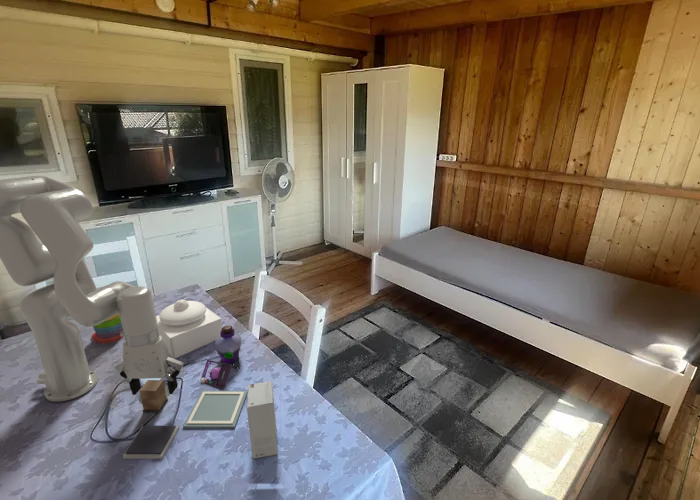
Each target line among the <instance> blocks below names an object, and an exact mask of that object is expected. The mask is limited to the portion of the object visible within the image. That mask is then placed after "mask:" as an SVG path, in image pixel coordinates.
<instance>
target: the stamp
mask: <svg viewBox="0 0 700 500" xmlns="http://www.w3.org/2000/svg"><path fill="white" fill-rule="evenodd" d="M139 394H140V400H141V404H142V412H143V414H144V413H145V414H146V413H151V414H152V413H156V414H157V413H161V412H162V411H163V409H164V408H165V407H166V405H167V403H168V400H169V399H168V397H167V393H166V387H165V381H164V380H163V379H148V380H146V382H145V383H144V384H143V386H141V388H140V390H139Z"/></svg>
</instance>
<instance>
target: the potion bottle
mask: <svg viewBox="0 0 700 500" xmlns="http://www.w3.org/2000/svg"><path fill="white" fill-rule="evenodd" d="M220 335H221V337H220V338H219V339H217V340H215V341H214V343H215V344H214V349H216V350H215V351H216V352H217V354H218V355H219V357H220V360H221V362H222V363H225V364H232V363H235V362H236V361H237V360H238V359H239V354H240V350H241V347H242V337H241V336H240V335H237V334H235V329H234V328H233V326H232V325H225V326H222V330H221V332H220ZM237 358H238V359H237ZM236 359H237V360H236ZM235 360H236V361H235Z"/></svg>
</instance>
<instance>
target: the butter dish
mask: <svg viewBox="0 0 700 500" xmlns="http://www.w3.org/2000/svg"><path fill="white" fill-rule="evenodd" d="M156 318H157V323H158V328H159V333H160V335H162V336H163V338H164V340H165V342H166V344H167V347H168V350H169V353H170V357H171V358H173V359H177V358H179V357H181V356H184V355H186V354H188V353H191V352H193V351H195V350H197V349H199V348H202V347H203V346H206V345H208V344H211V343H212V342H216V340H217V339H219V338H220V337H221V335H220V332H221V330H222V328H223V323H222V317H220V316H219V315H217V314H216V313H215V312H213V311H212V310H211V309H210V308H207V306H206V305H205V304H204V303H202V302H200V301H196V300H195V301H194V300H185V299H178V300H177V301H175V302H174V303H172V304H169V305H168V306H166V307H165V308H164V309H163V310H161V311H160V314H159V315H158V314H157V315H156Z"/></svg>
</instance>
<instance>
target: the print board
mask: <svg viewBox="0 0 700 500" xmlns="http://www.w3.org/2000/svg"><path fill="white" fill-rule="evenodd" d="M247 394H248V390H201V392H200V393H199V395H198V397H197V399H196V401H195V402H194V405H193V407H192V409H191V410H190V412H189V414H188V416H187V418H186V420H185V421H184V424H183V425H182V428H183V429H236V426H237V423H238V420H239V418H240V415H241V413H242V409H243V406H244V404H245V402H246V398H247Z"/></svg>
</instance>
